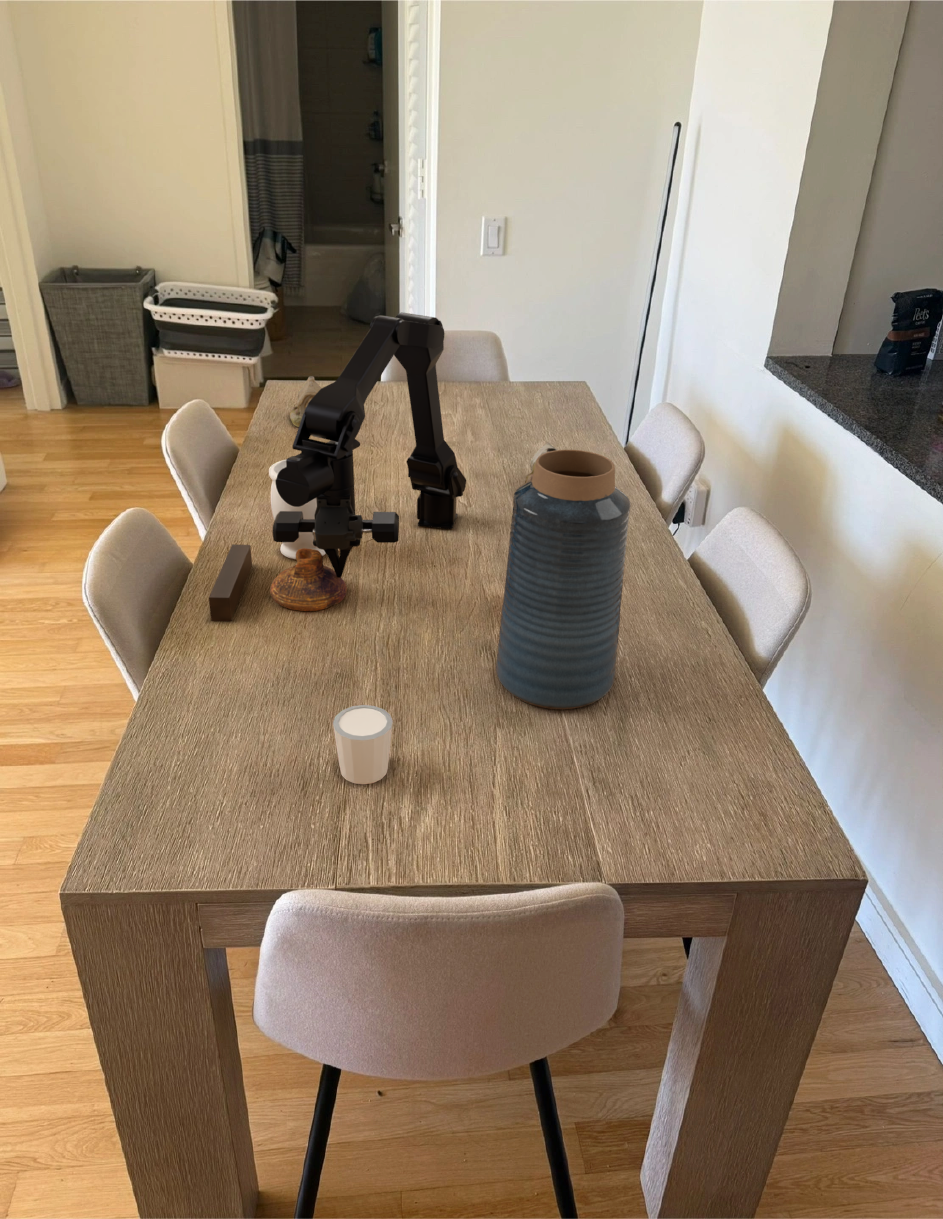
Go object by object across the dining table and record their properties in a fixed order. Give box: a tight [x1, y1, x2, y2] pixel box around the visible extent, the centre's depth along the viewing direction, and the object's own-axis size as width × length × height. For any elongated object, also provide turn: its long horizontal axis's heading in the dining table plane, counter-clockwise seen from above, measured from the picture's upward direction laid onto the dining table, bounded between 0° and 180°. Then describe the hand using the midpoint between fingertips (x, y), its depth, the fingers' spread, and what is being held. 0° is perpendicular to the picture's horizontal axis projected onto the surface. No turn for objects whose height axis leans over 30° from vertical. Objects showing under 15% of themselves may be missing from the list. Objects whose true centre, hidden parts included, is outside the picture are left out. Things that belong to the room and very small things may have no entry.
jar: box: [268, 458, 327, 561], centre depth 159 cm, size 11×10×15 cm
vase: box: [495, 449, 631, 710], centre depth 123 cm, size 16×16×32 cm
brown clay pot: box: [269, 548, 348, 612], centre depth 147 cm, size 12×12×7 cm
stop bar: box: [208, 544, 253, 622], centre depth 148 cm, size 3×18×4 cm, turn 2°
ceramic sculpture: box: [524, 441, 559, 483], centre depth 189 cm, size 11×9×15 cm
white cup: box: [332, 704, 394, 785], centre depth 111 cm, size 7×7×7 cm
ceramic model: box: [289, 375, 322, 428], centre depth 221 cm, size 14×11×10 cm
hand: (339, 576), depth 148 cm, fingers closed
